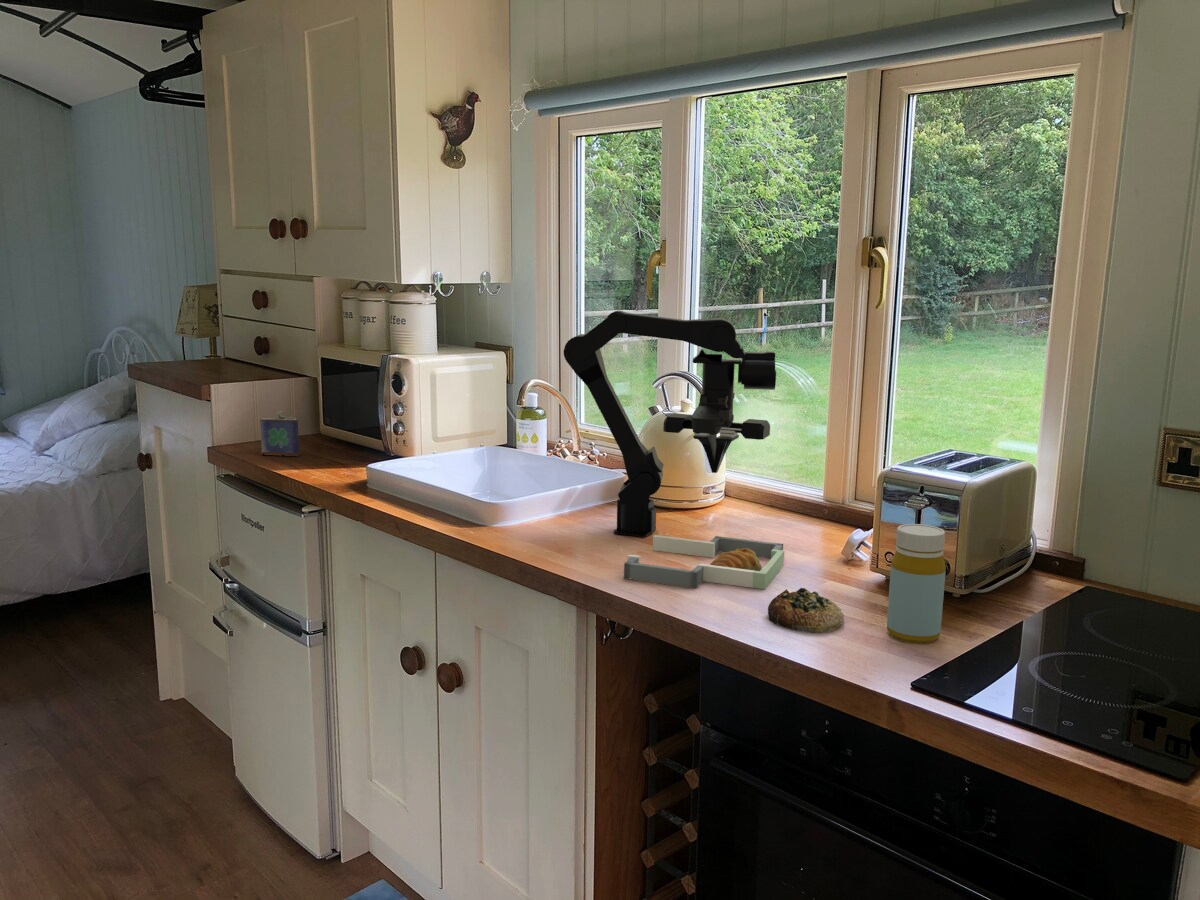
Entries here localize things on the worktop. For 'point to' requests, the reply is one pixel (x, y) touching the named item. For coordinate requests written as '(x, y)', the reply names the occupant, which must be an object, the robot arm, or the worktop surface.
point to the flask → (280, 434)
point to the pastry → (739, 560)
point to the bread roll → (805, 611)
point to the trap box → (705, 571)
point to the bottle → (917, 584)
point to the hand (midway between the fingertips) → (714, 472)
